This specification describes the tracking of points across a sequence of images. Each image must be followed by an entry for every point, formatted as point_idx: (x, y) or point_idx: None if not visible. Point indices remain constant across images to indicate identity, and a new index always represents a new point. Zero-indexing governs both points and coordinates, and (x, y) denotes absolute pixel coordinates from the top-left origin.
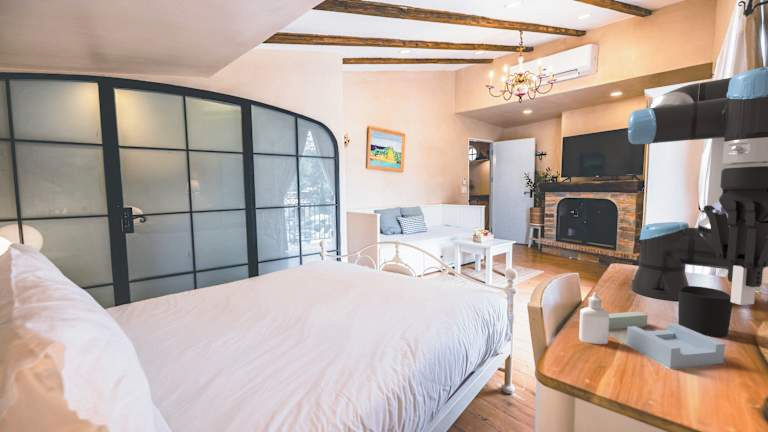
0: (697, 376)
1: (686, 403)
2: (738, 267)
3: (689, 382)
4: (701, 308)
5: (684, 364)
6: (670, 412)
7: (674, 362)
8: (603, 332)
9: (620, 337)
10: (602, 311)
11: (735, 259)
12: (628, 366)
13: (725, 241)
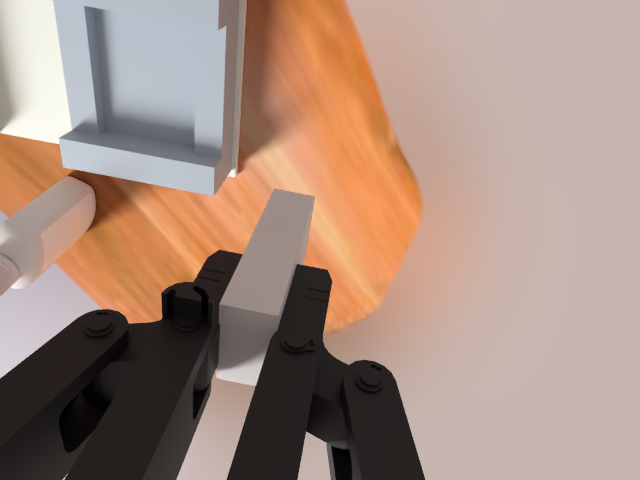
0: (267, 125)
1: (334, 258)
2: (244, 378)
3: (282, 174)
4: None
5: (230, 130)
6: (343, 306)
7: (226, 164)
8: (73, 221)
9: (53, 121)
10: (26, 259)
11: (205, 404)
12: (195, 231)
13: (42, 463)
